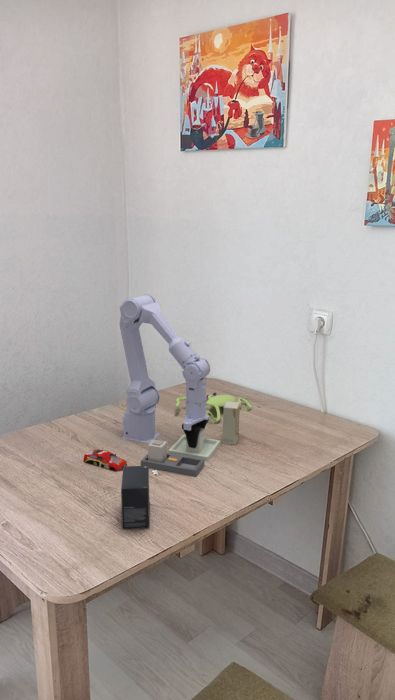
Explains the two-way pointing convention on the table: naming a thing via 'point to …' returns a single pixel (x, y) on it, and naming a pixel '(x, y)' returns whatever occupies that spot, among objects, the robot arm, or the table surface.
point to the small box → (135, 497)
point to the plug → (199, 443)
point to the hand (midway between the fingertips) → (195, 444)
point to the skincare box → (231, 423)
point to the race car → (105, 460)
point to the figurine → (216, 403)
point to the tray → (204, 454)
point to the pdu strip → (176, 464)
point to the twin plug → (157, 451)
